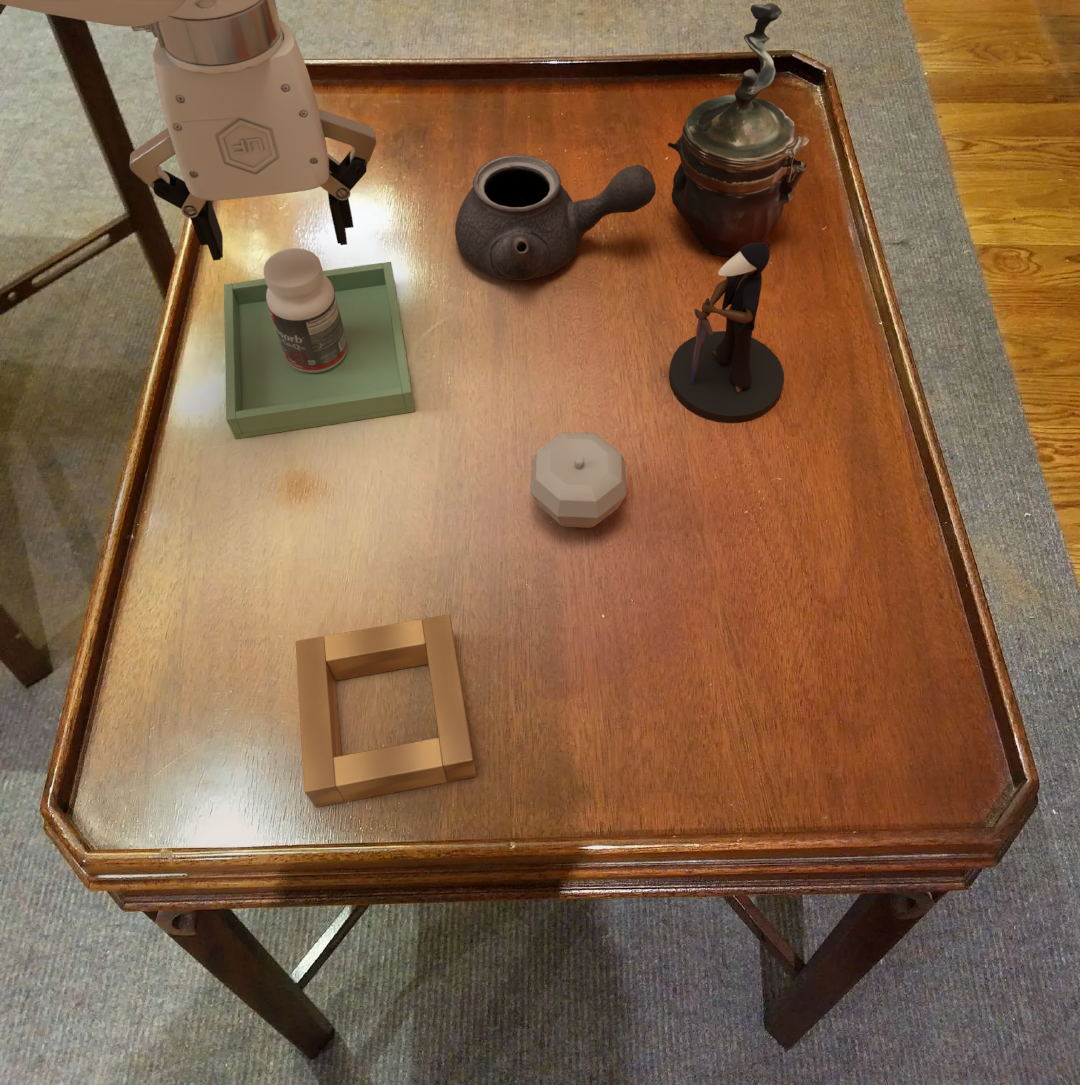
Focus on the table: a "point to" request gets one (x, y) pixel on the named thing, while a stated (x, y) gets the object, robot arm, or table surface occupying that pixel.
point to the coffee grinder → (738, 158)
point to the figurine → (729, 350)
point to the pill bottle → (304, 311)
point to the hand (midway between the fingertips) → (280, 241)
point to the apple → (578, 479)
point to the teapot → (536, 215)
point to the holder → (390, 766)
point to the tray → (325, 397)
